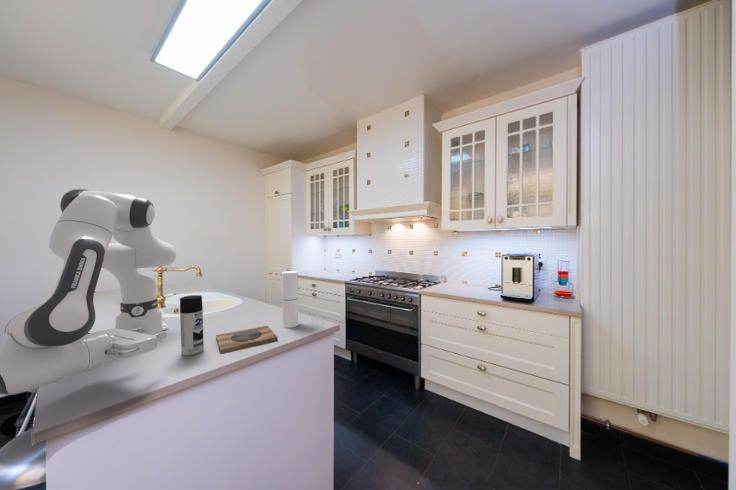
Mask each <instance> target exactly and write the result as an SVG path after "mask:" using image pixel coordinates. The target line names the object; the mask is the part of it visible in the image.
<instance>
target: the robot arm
mask: <svg viewBox="0 0 736 490" xmlns="http://www.w3.org/2000/svg"><path fill="white" fill-rule="evenodd" d="M59 206H60V211H61V214H60V216H59V217H58V220H57V221H56V223H55V225H54V226H53V229H52V231H51V235H50V238H49V245H48V247H49V249H50V251H51V252H52V253H53V254H54V255H56V256H57V257H59V258H61V259H63V266H62V268H61V272H60V275H59V277H58V280H57V282H56V286H55V287H54V290H53V292H52V294H51V296H49V298H48V299H46V301H45V302H44V303H42V304H41V305H39V306H36V307H34V308H30V309H28V310H25V311H23V312H21V313H19V314H17V315H15V316H14V317H13V318H12V319H11V320H9V321H8V323H7V324H6V326H5V329H4V336H3V339H2V342H1V345H0V395H6V396H10V395H18V394H21V393H26V392H28V391H32V390H36V389H39V388H42V387H44V386H48V385H51V384H53V383H56V382H57V383H58V382H60V381H61V380H63V379H65V378H67V377H69V376H71V375H76V374H82V373H85V372H87V371H90V370H94V369H95V368H96V369H97V368H99V367H101V366H104V365H107V364H109V363H110V362H111V361H112V359H113V358H114V357H118V358H119V357H120V358H123V359H124V358H132V357H135V356H139V355H142V354H145V353H148V352H151V351H154V350H156V348H158V341H160V340H162V339H165V338H166V337H167V335H166V334H167V332H166V331H167V330H168V329H169V325H168V324H167V323H166V322H165V321H164V318H163V311H161V310H160V309H159V308H158V307H159V299H158V298H157V282H156V281H155V279H153V278H152V277H150V276H146V275H143V274H141V273H139V272H138V271H139V270H138V269H146V268H147V269H148V268H149V269H150V268H151V269H152V268H162V267H166V266H170V265H172V264H173V263H174V262H175V261H176V259H177V251H176V248H175V247H174V245H172V244H171V243H169V242H166V241H164V240H162V239H160V238H159V237H157V236H156V235H155V234H154V233H153V231H152V228H151V224H152V223H153V221H154V219H155V215H156V213H155V212H156V211H155V207H154V204H153V203H152V202H151V201H150V200H149V199H147V198H143V197H141V196H135V195H133V194H129V193H121V192H120V193H119V192H113V191H112V192H110V191H109V192H108V191H101V190H89V189H85V188H82V189H80V188H79V189H70V190H69V191H67V192H66V193H64V194H63V196H62V197H61V199H60V205H59ZM112 238H113V239H114V240H115V241H116V242H111V240H112ZM102 269H104V270H106V271H107V272H110V274H112V275H113V276H114V277H115V278H116V280H117V282H118V285H119V287H120V294H121V296H120V297H121V302H120V305H119V308H120V309H119V311H120V313H119V314H118V315H117V316H116V317H115V323H114V324H115V328H108V329H103V330H98V331H93V332H90V331H91V330H92V328H93V327H94V324H95V323H96V309H95V304H94V296H95V291H96V288H97V284H98V282H99V277H100V275H101V270H102Z"/></svg>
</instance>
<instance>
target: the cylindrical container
mask: <svg viewBox="0 0 736 490" xmlns="http://www.w3.org/2000/svg"><path fill="white" fill-rule="evenodd" d="M298 274H299V273H298V271H295V270H288V271H287V270H285V271H282V272H281V312H282V313H281V325H282V326H281V327H282V328H285V329H292V328H296V327H297V326H299V276H298Z"/></svg>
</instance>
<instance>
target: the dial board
mask: <svg viewBox="0 0 736 490" xmlns="http://www.w3.org/2000/svg"><path fill="white" fill-rule="evenodd" d="M215 339H216V340H215V341H216V345H217V348H218V351H219V354H224V353H229V352H232V351H238V350H242V349H246V348H247V349H248V348H251V347H255V346H261V345H264V344H269V343H273V342H278V336H277V334H275V332H274V331H273V330H272V329H271V328H270V326H268V325H262V326H257V327H252V328H248V329H247V328H246V329H242V330H238V331H231V332H227V333H226V332H225V333H220V334H216V335H215Z"/></svg>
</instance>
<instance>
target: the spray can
mask: <svg viewBox="0 0 736 490" xmlns="http://www.w3.org/2000/svg"><path fill="white" fill-rule="evenodd" d="M179 314H180V315H179V317H180V320H179V321H180V344H181V345H180V347H181V348H180V350H181V355H182V356H185V357H187V356H188V357H189V356H194V355H195V356H196V355H198V354H200V353H202V352H203V351H204V348H205V347H204V345H205V344H204V310H203V296H202V295H199V294H198V295H197V294H194V295H193V294H191V295H185V296H182V297H180V298H179Z"/></svg>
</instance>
